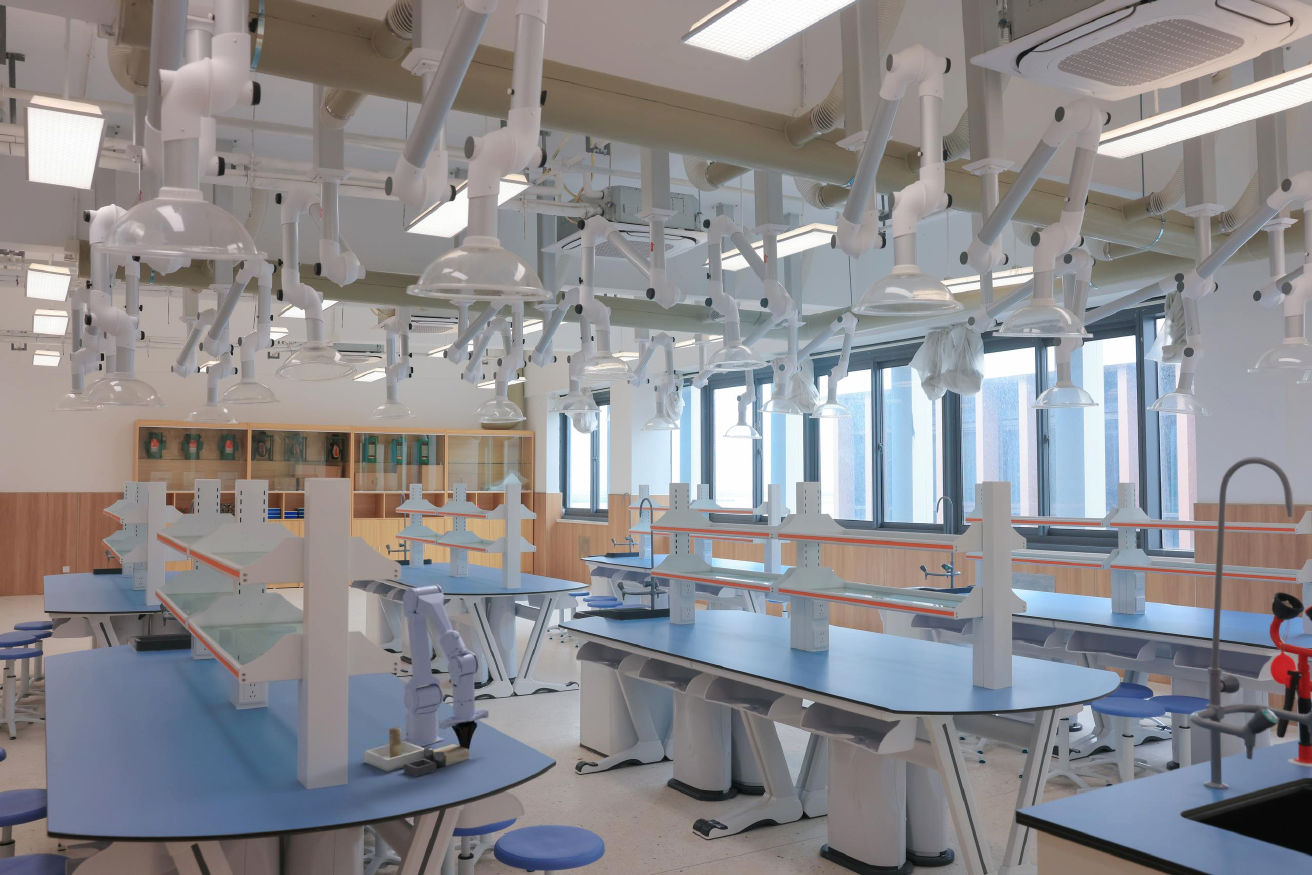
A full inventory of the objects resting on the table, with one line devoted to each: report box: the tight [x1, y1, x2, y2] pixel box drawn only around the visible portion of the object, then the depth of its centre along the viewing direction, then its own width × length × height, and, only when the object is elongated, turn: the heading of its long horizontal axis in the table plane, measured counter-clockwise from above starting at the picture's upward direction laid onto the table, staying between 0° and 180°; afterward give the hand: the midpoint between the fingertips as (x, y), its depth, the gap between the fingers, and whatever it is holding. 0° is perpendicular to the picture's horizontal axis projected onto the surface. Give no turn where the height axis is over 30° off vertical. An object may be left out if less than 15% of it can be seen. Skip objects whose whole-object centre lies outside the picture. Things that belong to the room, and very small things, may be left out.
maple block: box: [433, 743, 470, 766], centre depth 252 cm, size 7×7×3 cm
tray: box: [364, 740, 426, 773], centre depth 252 cm, size 12×12×3 cm
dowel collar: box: [403, 758, 437, 777], centre depth 243 cm, size 6×6×2 cm
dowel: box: [388, 726, 402, 758], centre depth 252 cm, size 3×3×8 cm
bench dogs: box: [424, 747, 445, 769], centre depth 249 cm, size 7×2×4 cm, turn 46°
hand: (464, 749), depth 256 cm, fingers closed
